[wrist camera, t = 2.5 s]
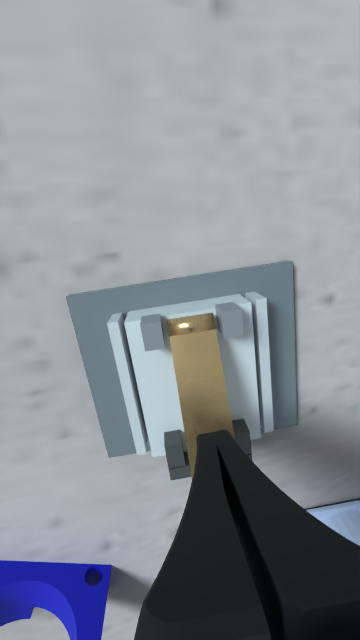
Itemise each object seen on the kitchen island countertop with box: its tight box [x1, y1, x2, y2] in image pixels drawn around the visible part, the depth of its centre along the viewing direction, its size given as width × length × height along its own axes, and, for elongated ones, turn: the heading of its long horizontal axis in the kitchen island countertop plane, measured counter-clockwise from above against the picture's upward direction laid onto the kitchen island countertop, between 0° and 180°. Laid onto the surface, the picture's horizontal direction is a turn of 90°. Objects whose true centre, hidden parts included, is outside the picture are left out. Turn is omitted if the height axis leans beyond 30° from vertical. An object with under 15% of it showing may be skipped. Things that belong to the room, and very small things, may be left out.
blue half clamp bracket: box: [0, 560, 111, 640], centre depth 21 cm, size 12×4×6 cm, turn 80°
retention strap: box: [167, 313, 235, 479], centre depth 14 cm, size 2×8×1 cm, turn 8°
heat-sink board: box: [66, 261, 297, 480], centre depth 17 cm, size 14×12×5 cm
